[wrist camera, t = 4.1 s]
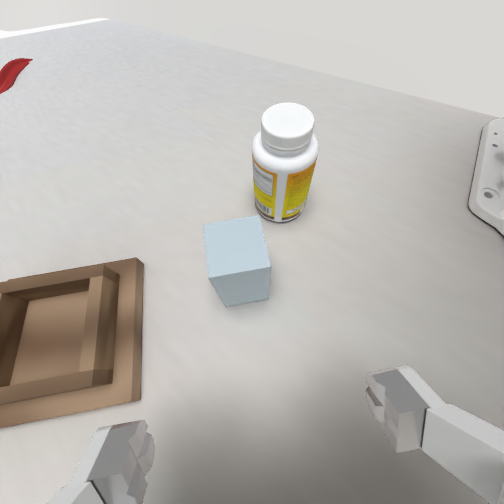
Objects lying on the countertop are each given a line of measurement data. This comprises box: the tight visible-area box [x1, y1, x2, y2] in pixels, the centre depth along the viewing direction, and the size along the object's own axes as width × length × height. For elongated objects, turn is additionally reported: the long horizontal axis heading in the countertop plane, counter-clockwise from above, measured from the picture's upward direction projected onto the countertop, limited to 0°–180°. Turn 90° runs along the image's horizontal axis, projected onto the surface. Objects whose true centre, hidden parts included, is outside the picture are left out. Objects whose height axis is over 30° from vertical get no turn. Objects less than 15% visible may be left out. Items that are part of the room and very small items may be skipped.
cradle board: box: [0, 258, 143, 428], centre depth 20 cm, size 12×12×4 cm
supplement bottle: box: [252, 103, 319, 222], centre depth 22 cm, size 6×6×10 cm
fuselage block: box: [203, 215, 271, 307], centre depth 20 cm, size 4×4×8 cm
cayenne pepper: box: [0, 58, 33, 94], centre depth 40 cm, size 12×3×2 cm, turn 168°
